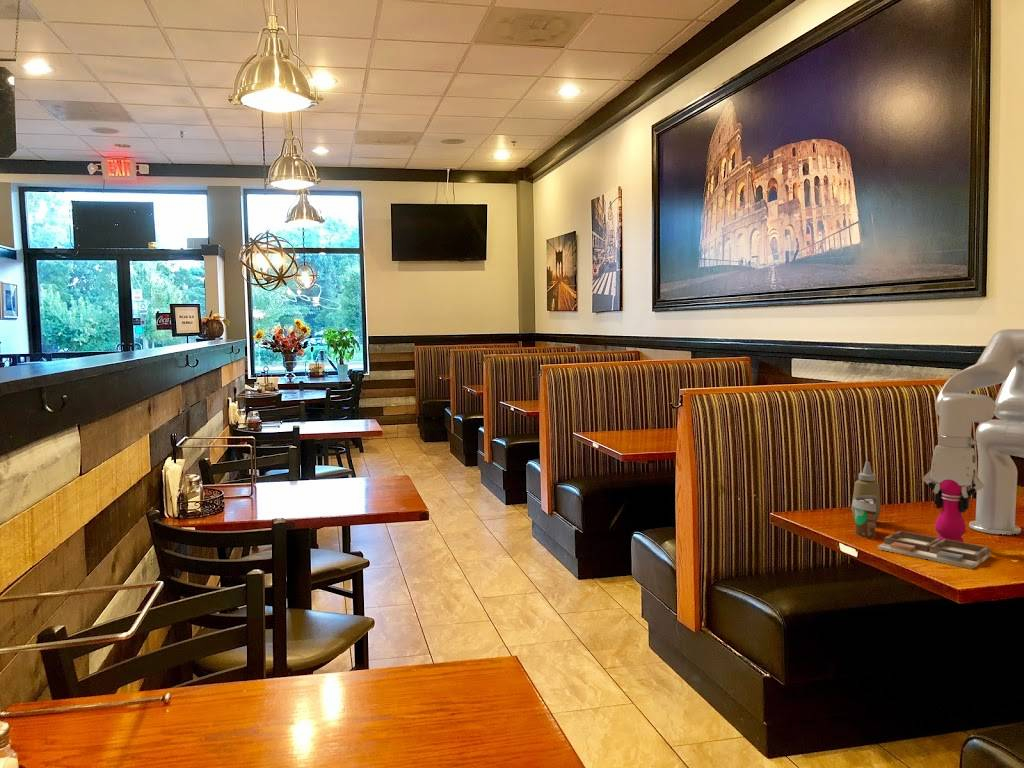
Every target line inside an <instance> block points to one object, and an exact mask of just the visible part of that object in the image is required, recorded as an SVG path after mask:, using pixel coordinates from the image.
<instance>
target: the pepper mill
mask: <svg viewBox="0 0 1024 768" xmlns="http://www.w3.org/2000/svg"><path fill="white" fill-rule="evenodd" d="M940 488H941V490H942V492H943V493H941V495H942V496H941V498H942V499H943V507H942V508H941V511H940V513H939V514H938V516H937V519H936V520H935V524H934V525H935V526H934V528H935V531H936V532H937V533H938V534H937V535H936V537H937V538H942V539H948V540H953V541H959V542H964V538H963V536H964V534H966V533H967V525H966V522H965V520H964V518H963V515H962V512H960V498H961V497H962V491H961V490H962V486H960V485H958V483H957V482H955V481H953V480H949V479H947V480H944V481H942V483H940Z"/></svg>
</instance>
